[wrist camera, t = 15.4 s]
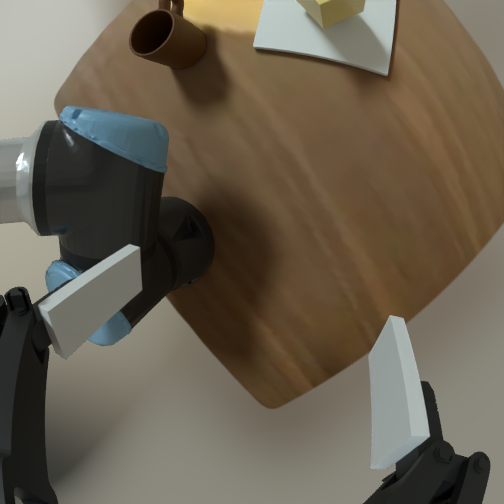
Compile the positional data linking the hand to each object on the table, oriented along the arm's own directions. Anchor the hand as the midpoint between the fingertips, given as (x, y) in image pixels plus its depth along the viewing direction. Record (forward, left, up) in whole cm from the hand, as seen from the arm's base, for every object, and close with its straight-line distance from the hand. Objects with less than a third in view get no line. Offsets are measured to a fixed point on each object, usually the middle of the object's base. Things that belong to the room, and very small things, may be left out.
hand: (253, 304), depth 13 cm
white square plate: (-2, +28, -26) cm, 38 cm away
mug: (-22, +22, -26) cm, 41 cm away
